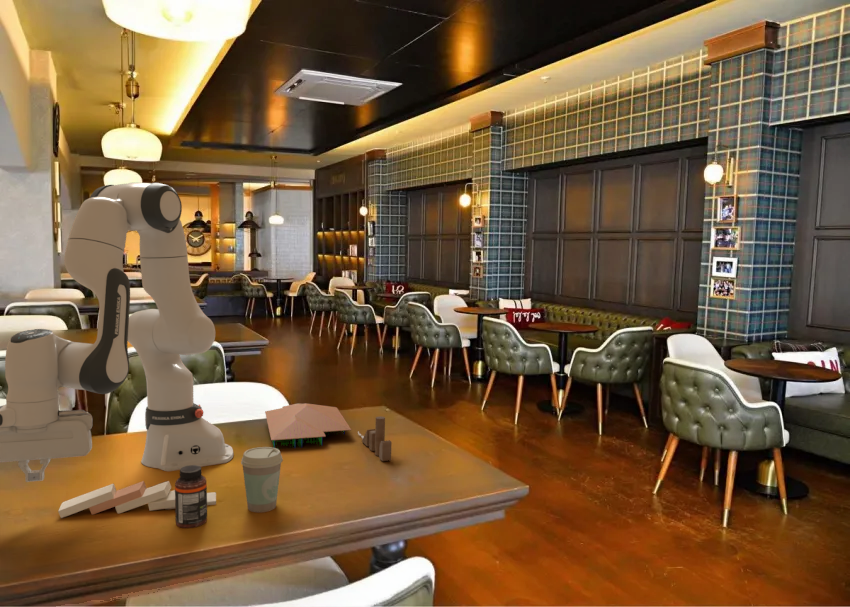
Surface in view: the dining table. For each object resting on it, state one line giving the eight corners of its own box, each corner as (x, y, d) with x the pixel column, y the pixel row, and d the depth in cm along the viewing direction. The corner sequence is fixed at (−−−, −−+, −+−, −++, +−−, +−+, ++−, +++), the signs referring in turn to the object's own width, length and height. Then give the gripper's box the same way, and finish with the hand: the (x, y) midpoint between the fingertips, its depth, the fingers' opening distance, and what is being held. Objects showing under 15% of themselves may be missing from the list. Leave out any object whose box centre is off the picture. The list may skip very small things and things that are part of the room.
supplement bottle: (180, 516, 127) (180, 463, 126) (210, 516, 128) (210, 462, 127) (171, 530, 121) (170, 473, 120) (202, 529, 122) (202, 473, 121)
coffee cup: (261, 519, 127) (261, 462, 126) (232, 509, 131) (232, 453, 130) (290, 505, 134) (291, 450, 133) (262, 496, 139) (262, 443, 137)
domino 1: (98, 505, 132) (146, 487, 134) (91, 514, 127) (142, 496, 129) (95, 498, 131) (143, 480, 134) (89, 507, 127) (139, 489, 129)
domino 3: (157, 499, 134) (204, 492, 134) (149, 510, 129) (198, 503, 129) (156, 493, 134) (203, 485, 134) (148, 503, 129) (196, 496, 129)
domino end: (65, 509, 129) (116, 490, 133) (60, 518, 125) (113, 498, 128) (62, 502, 129) (113, 483, 132) (58, 511, 124) (111, 491, 128)
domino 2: (124, 504, 133) (171, 487, 134) (117, 513, 128) (166, 496, 129) (121, 497, 132) (168, 480, 134) (115, 506, 128) (164, 489, 129)
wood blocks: (391, 461, 163) (392, 422, 163) (382, 462, 162) (382, 423, 162) (362, 434, 186) (362, 400, 185) (353, 435, 185) (354, 401, 184)
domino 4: (167, 503, 135) (215, 499, 138) (165, 513, 130) (216, 508, 133) (167, 496, 135) (215, 492, 138) (165, 506, 130) (215, 501, 133)
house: (335, 415, 208) (335, 391, 207) (354, 445, 177) (354, 417, 176) (264, 419, 201) (264, 394, 200) (271, 451, 170) (271, 422, 169)
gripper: (94, 405, 129) (96, 470, 131) (-22, 411, 123) (-20, 479, 124) (89, 413, 124) (90, 480, 125) (-33, 419, 117) (-31, 491, 118)
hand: (35, 480), depth 124 cm, fingers closed
